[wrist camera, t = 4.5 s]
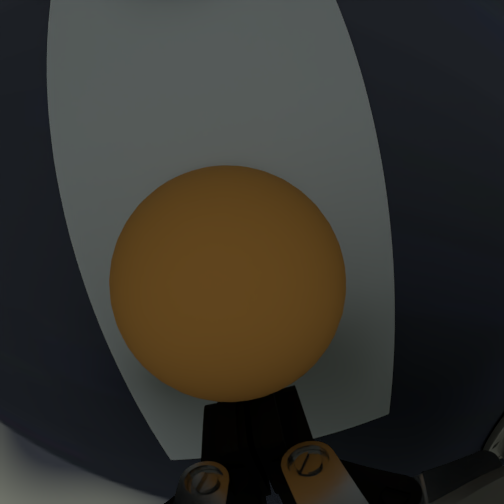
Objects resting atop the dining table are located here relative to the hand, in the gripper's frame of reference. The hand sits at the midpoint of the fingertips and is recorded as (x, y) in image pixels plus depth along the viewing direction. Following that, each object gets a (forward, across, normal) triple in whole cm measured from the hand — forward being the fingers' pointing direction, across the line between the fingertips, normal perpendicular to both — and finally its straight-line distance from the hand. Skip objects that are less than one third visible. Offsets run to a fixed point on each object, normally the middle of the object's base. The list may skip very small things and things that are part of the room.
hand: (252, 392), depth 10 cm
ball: (-1, 0, -5) cm, 5 cm away
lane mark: (+2, -1, -10) cm, 10 cm away
